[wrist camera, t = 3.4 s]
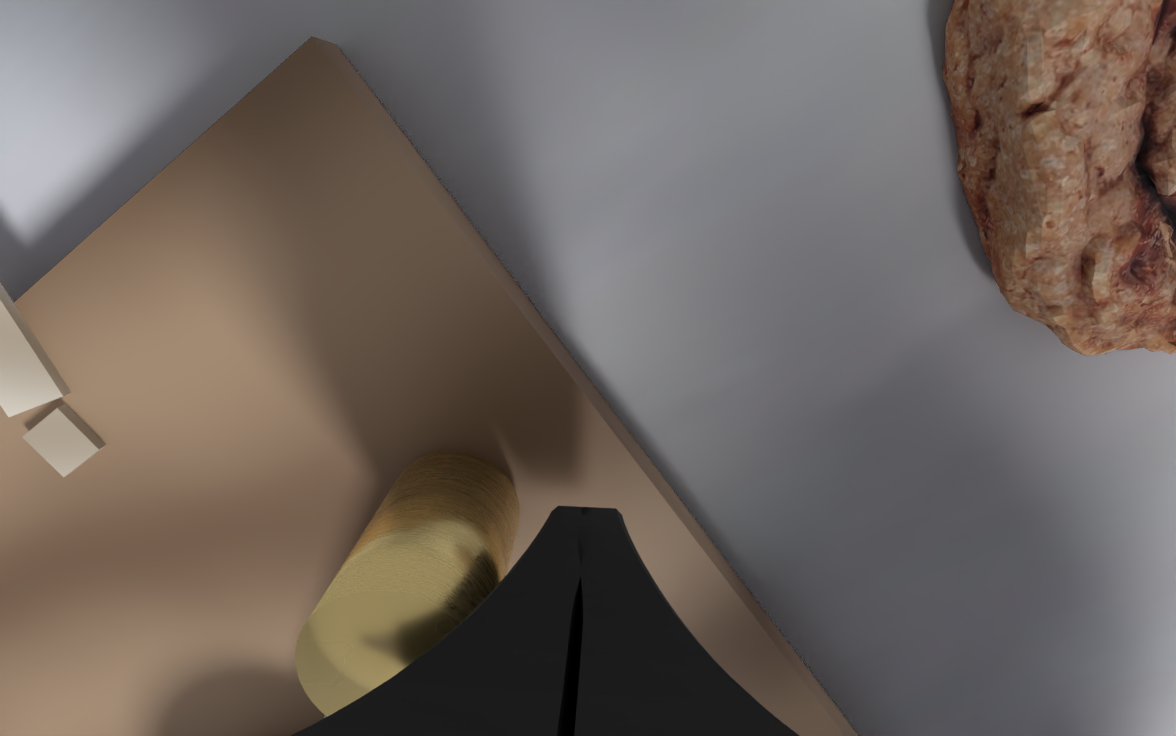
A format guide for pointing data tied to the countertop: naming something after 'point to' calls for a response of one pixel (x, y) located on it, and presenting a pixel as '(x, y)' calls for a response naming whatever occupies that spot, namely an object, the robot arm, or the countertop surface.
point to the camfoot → (409, 576)
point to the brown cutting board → (290, 426)
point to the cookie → (1072, 161)
